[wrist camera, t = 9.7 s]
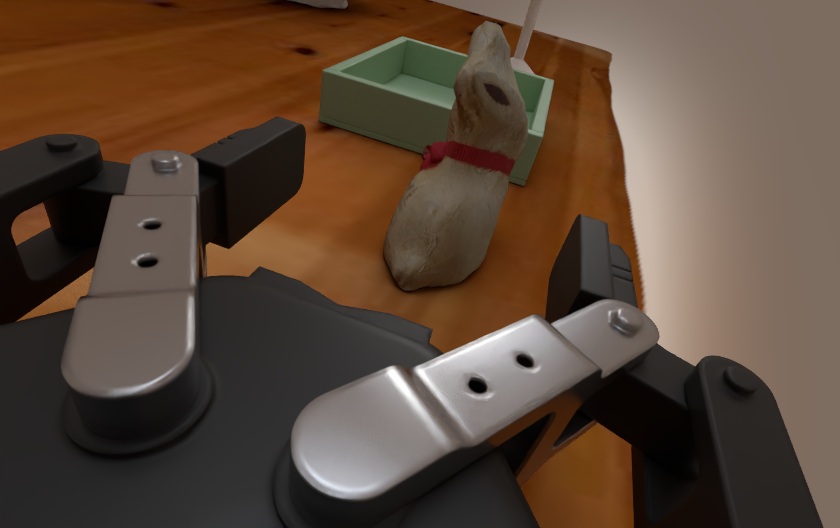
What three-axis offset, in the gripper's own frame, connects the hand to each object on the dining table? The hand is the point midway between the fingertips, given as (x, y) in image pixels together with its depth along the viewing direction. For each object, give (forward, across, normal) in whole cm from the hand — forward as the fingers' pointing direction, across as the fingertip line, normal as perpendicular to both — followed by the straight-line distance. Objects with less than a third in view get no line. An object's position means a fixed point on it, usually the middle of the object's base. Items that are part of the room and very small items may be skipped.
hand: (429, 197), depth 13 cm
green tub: (+25, +4, +6) cm, 26 cm away
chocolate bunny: (+7, 0, +6) cm, 9 cm away
